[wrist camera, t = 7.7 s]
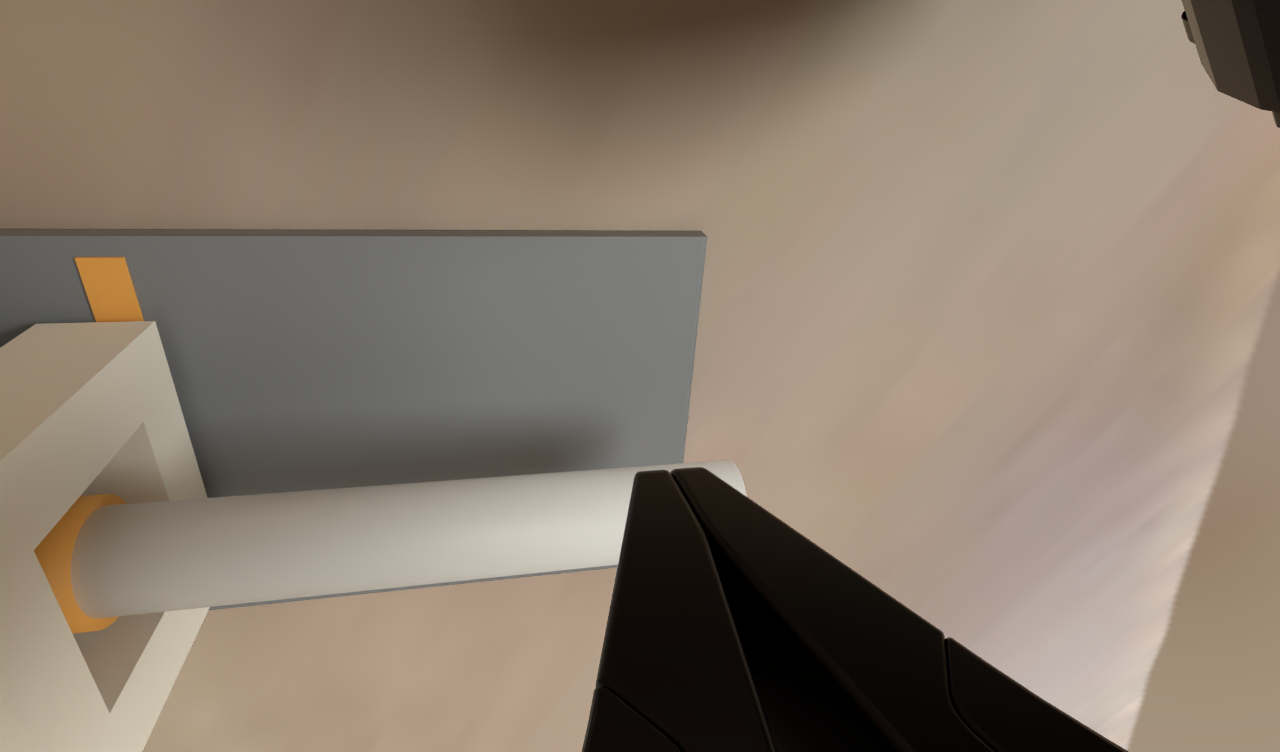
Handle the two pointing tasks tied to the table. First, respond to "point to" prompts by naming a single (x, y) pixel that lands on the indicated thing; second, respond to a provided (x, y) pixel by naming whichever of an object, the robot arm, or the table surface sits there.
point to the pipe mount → (373, 404)
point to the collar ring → (40, 496)
